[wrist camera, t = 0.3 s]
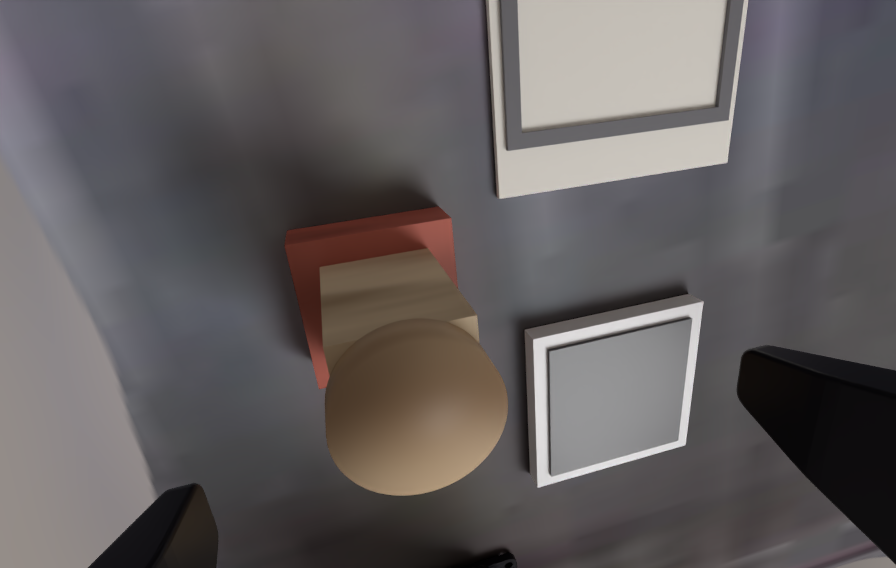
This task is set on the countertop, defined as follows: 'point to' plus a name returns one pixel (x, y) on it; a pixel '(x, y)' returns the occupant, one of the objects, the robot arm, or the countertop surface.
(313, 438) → the countertop surface
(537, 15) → the print sheet
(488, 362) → the stamp
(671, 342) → the ink pad
